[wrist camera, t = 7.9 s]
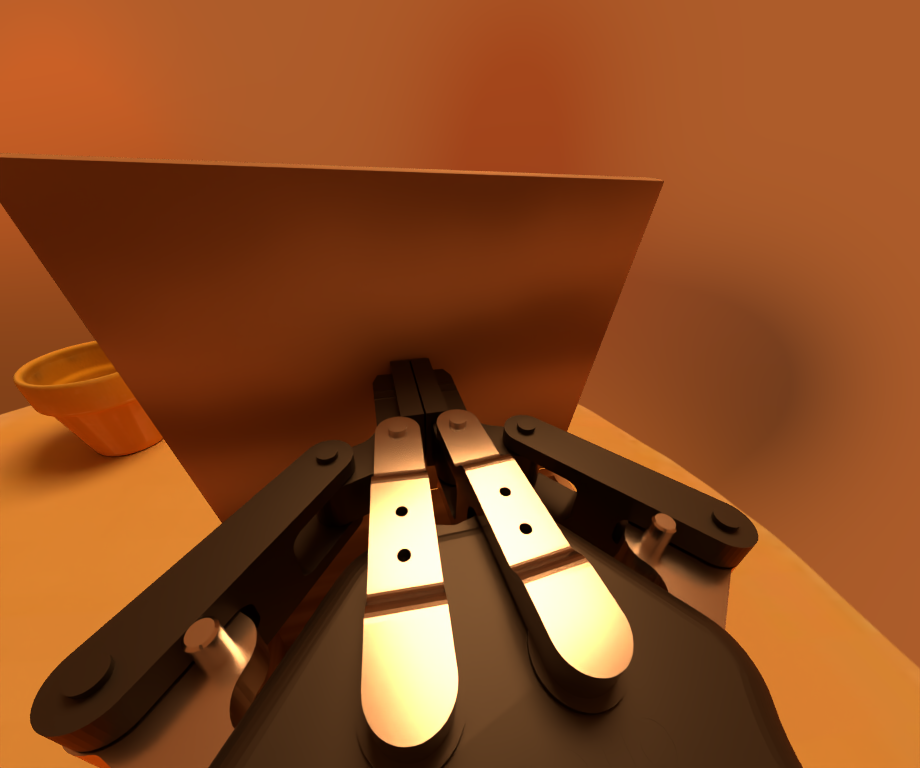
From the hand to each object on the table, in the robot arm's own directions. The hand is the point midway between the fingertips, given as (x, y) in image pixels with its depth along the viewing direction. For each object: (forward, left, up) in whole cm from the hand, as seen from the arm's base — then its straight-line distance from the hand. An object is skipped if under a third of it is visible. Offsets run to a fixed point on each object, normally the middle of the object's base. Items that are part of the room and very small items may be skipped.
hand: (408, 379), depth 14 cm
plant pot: (-38, -5, -20) cm, 43 cm away
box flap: (0, 0, 0) cm, 0 cm away
